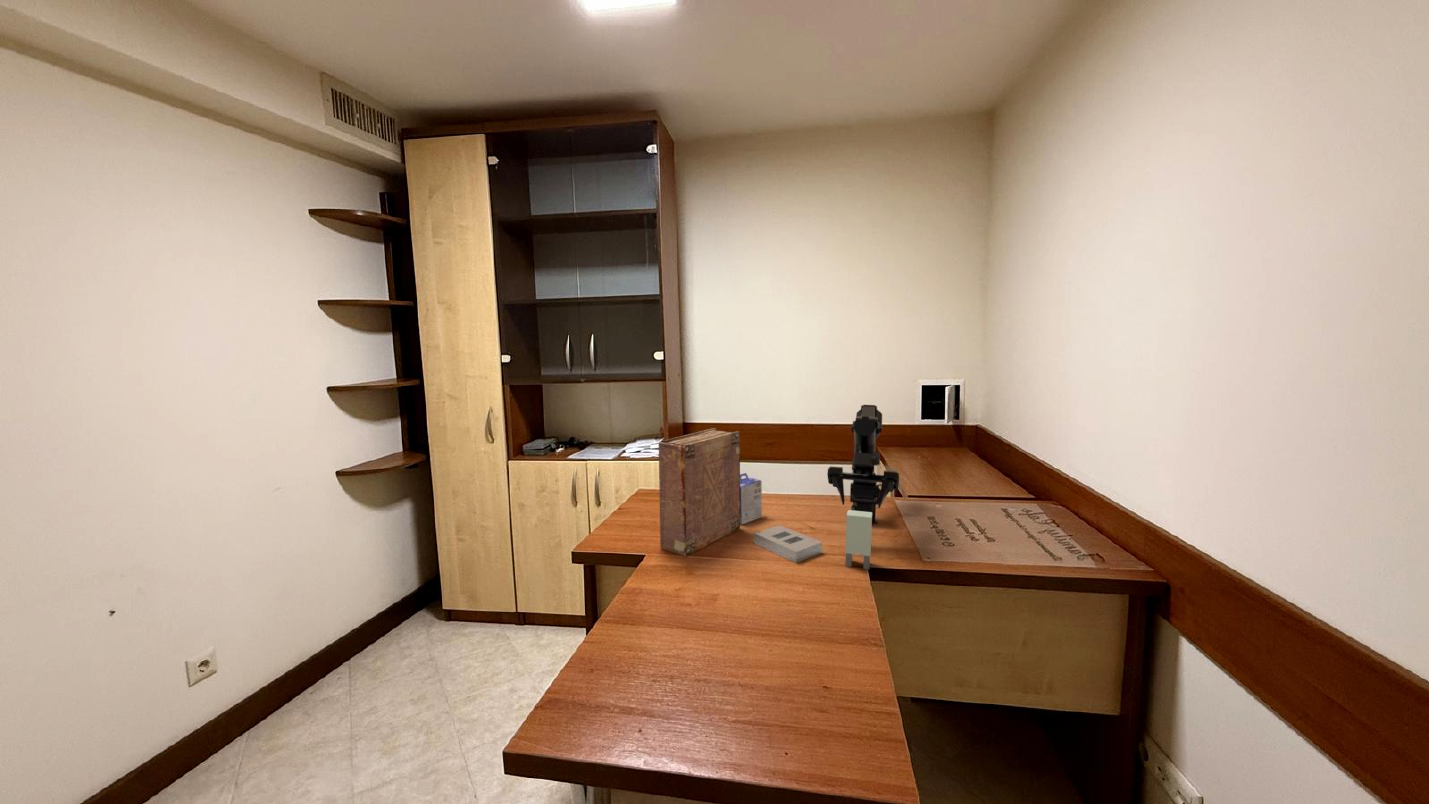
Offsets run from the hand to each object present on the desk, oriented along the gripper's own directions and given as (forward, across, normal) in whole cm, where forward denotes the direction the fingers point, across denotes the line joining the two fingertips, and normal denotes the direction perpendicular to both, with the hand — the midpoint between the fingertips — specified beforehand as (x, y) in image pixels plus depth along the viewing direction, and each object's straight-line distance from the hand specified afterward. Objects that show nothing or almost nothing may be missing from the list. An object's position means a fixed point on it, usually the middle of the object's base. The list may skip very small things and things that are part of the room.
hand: (860, 505), depth 141 cm
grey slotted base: (+12, -19, +7) cm, 23 cm away
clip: (+15, 0, +3) cm, 15 cm away
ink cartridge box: (-1, -36, +20) cm, 41 cm away
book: (+12, -44, +6) cm, 46 cm away
